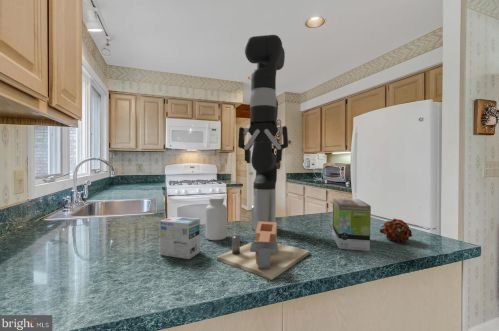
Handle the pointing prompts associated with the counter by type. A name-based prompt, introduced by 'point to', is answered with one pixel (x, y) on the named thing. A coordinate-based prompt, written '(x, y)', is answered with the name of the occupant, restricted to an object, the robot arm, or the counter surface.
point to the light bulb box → (180, 237)
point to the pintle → (235, 244)
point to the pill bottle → (216, 219)
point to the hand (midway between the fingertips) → (262, 163)
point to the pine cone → (396, 230)
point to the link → (265, 233)
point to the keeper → (264, 252)
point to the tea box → (351, 224)
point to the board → (277, 260)
